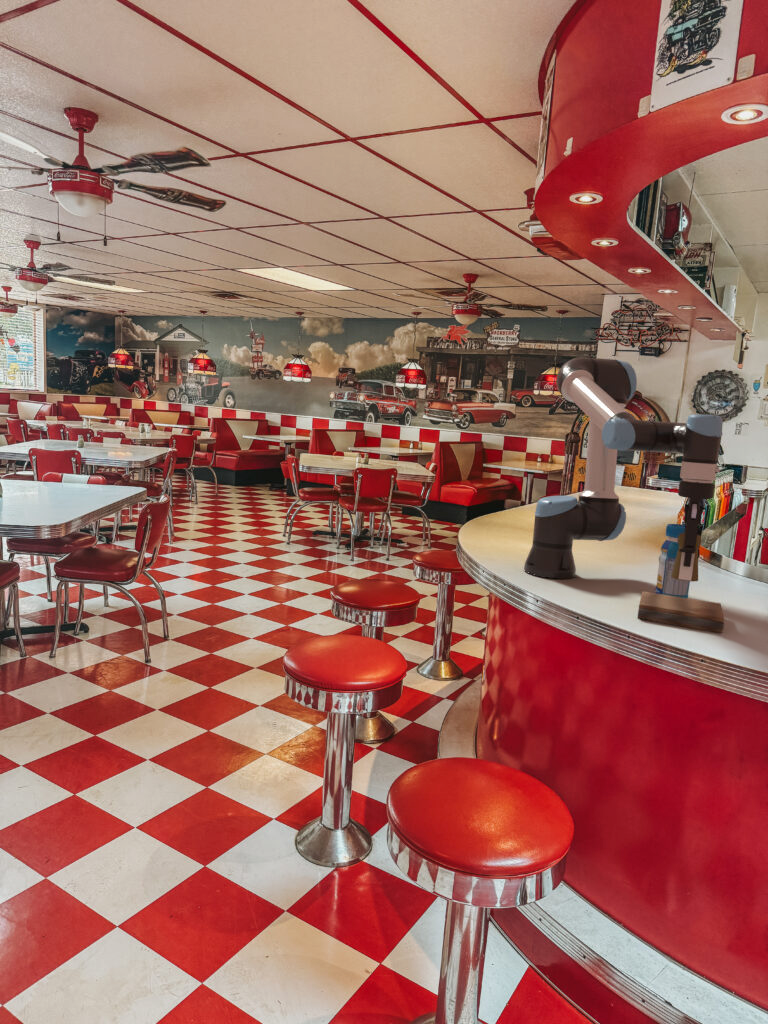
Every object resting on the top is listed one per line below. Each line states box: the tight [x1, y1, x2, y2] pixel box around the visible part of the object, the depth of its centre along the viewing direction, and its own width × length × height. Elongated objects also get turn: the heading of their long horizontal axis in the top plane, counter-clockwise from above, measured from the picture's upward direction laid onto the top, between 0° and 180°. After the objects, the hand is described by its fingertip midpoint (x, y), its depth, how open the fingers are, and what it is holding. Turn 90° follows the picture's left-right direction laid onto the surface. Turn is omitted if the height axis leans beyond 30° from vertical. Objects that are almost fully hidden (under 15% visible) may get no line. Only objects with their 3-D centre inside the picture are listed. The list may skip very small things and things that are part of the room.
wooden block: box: [637, 591, 725, 634], centre depth 155 cm, size 18×15×4 cm
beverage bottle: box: [654, 523, 691, 599], centre depth 172 cm, size 8×8×20 cm
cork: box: [671, 533, 703, 582], centre depth 154 cm, size 6×6×11 cm
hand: (684, 576), depth 154 cm, fingers closed on cork, 6 cm apart
